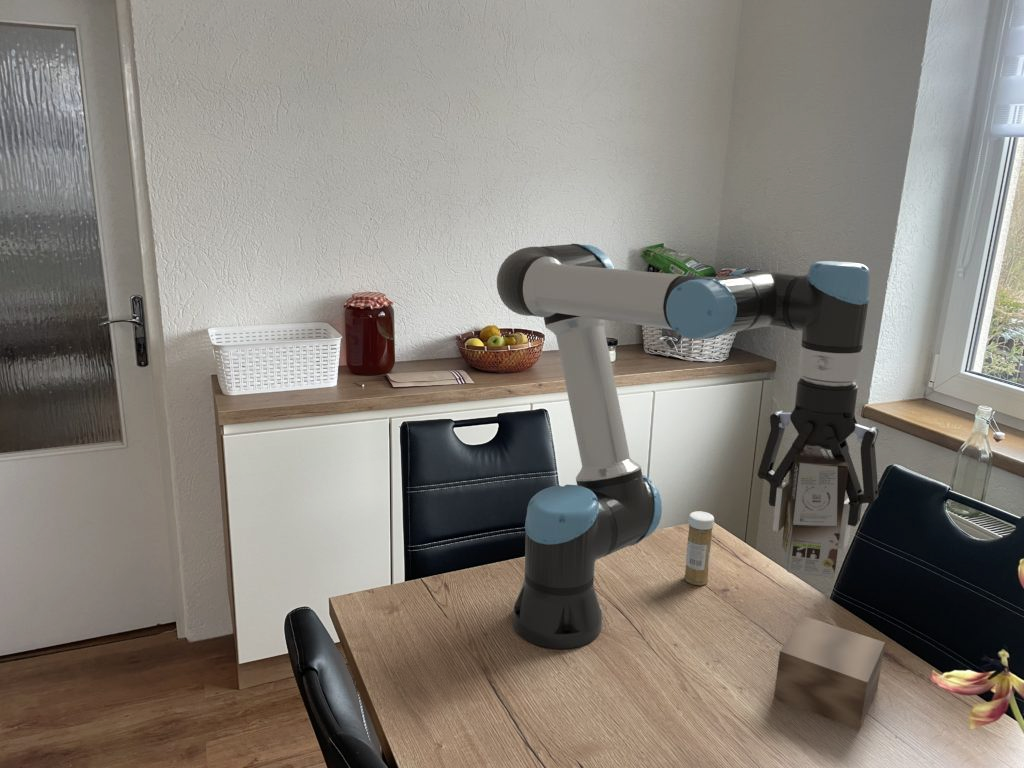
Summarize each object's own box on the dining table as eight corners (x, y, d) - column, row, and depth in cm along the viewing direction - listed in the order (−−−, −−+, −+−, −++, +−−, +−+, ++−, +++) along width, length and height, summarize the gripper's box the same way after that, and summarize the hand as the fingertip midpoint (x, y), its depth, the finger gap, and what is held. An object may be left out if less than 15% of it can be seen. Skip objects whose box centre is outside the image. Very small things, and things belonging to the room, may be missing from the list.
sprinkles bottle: (712, 580, 150) (719, 515, 146) (699, 589, 147) (705, 522, 143) (692, 572, 153) (698, 508, 150) (678, 579, 150) (684, 514, 146)
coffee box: (836, 579, 106) (850, 466, 102) (786, 573, 108) (798, 462, 104) (826, 550, 115) (839, 445, 111) (780, 544, 116) (791, 441, 112)
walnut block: (773, 698, 117) (779, 651, 115) (797, 660, 126) (803, 615, 124) (859, 731, 110) (867, 682, 108) (877, 688, 119) (885, 642, 117)
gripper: (740, 372, 108) (728, 525, 114) (907, 398, 96) (884, 568, 101) (760, 363, 114) (747, 509, 119) (920, 386, 101) (897, 548, 107)
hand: (810, 536), depth 110 cm, fingers closed on coffee box, 8 cm apart
